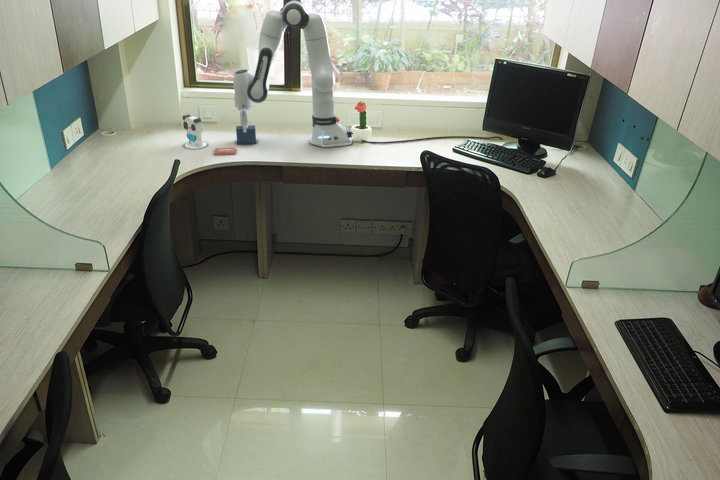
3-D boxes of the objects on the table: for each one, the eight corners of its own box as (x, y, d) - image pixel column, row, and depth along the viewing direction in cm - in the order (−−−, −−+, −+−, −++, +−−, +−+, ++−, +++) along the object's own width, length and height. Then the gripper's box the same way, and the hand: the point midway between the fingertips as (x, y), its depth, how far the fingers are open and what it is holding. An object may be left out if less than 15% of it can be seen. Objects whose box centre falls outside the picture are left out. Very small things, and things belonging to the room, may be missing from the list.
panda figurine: (179, 145, 326) (175, 116, 317) (197, 140, 332) (194, 112, 324) (193, 150, 319) (189, 121, 310) (211, 145, 326) (207, 116, 317)
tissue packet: (235, 149, 320) (234, 147, 319) (234, 154, 314) (234, 151, 313) (215, 150, 319) (215, 147, 318) (215, 155, 313) (214, 152, 312)
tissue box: (256, 140, 333) (255, 124, 328) (256, 143, 328) (255, 127, 323) (237, 140, 332) (236, 124, 327) (237, 144, 327) (235, 128, 322)
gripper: (249, 108, 310) (251, 135, 318) (249, 97, 327) (250, 123, 335) (236, 108, 310) (238, 135, 317) (237, 97, 327) (239, 123, 334)
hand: (245, 129), depth 326 cm, fingers open, 8 cm apart
